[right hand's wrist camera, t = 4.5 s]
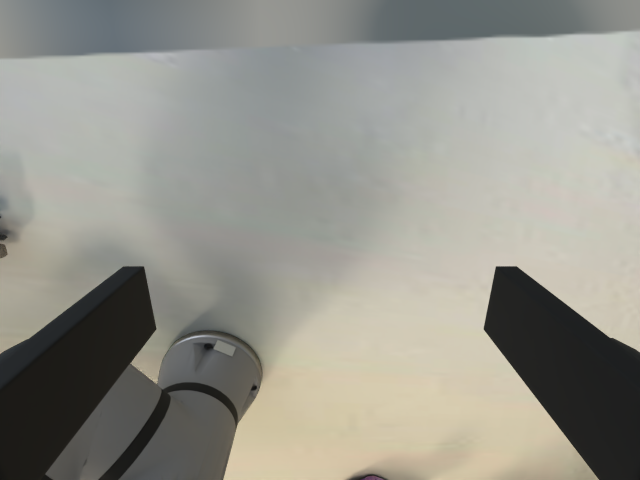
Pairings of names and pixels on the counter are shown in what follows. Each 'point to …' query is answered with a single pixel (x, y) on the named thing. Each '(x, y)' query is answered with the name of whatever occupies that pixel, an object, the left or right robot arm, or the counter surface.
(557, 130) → the counter surface
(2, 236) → the figurine character
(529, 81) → the counter surface
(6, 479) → the right robot arm
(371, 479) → the figurine
